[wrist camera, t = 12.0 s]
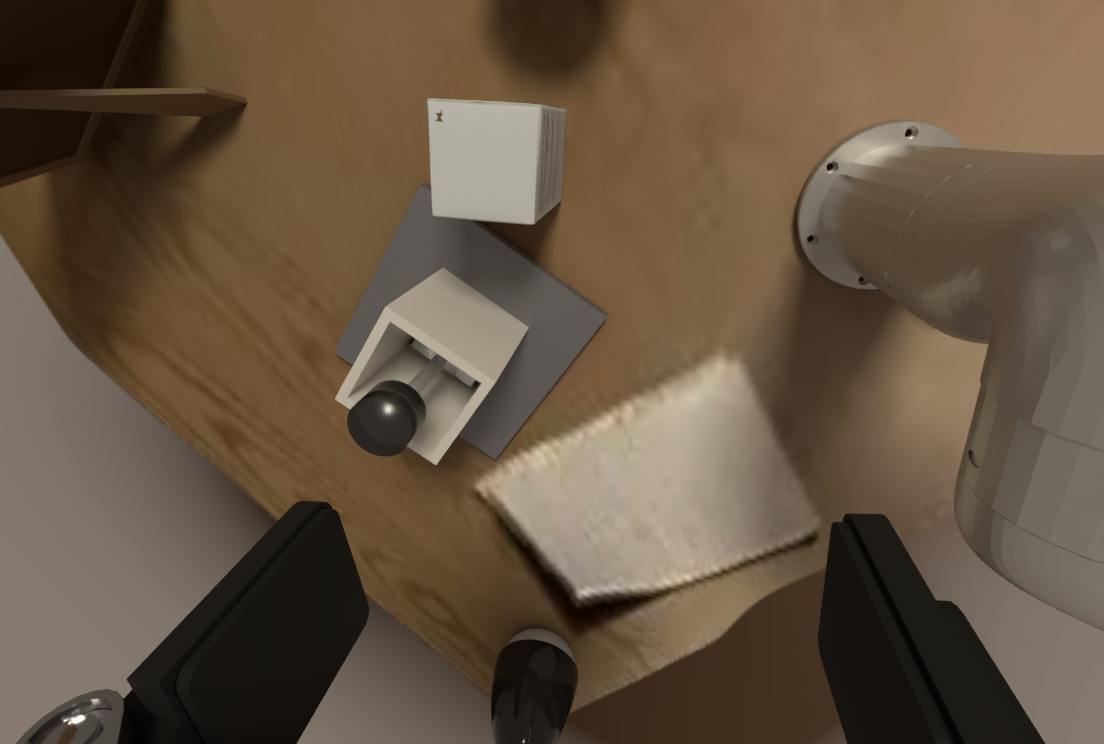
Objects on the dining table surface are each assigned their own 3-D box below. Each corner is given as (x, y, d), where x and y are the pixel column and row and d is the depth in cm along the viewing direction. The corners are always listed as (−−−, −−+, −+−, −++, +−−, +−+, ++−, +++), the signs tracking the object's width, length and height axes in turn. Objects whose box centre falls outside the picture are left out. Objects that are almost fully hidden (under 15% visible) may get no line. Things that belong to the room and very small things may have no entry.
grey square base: (607, 313, 50) (593, 371, 38) (497, 453, 59) (458, 536, 47) (426, 182, 48) (351, 201, 36) (339, 348, 56) (256, 407, 45)
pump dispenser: (550, 682, 73) (527, 811, 59) (489, 640, 71) (451, 762, 57) (599, 648, 68) (586, 778, 55) (535, 602, 67) (505, 724, 53)
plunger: (509, 331, 51) (446, 422, 35) (473, 383, 54) (400, 489, 38) (447, 287, 50) (354, 361, 34) (413, 343, 53) (314, 434, 37)
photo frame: (44, 127, 52) (-415, 133, 29) (123, -92, 43) (-445, -325, 20) (176, 237, 54) (-152, 319, 32) (276, 52, 46) (-79, -14, 23)
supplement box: (480, 195, 48) (427, 217, 36) (481, 102, 44) (423, 93, 33) (563, 203, 47) (535, 228, 35) (570, 108, 43) (541, 102, 32)
